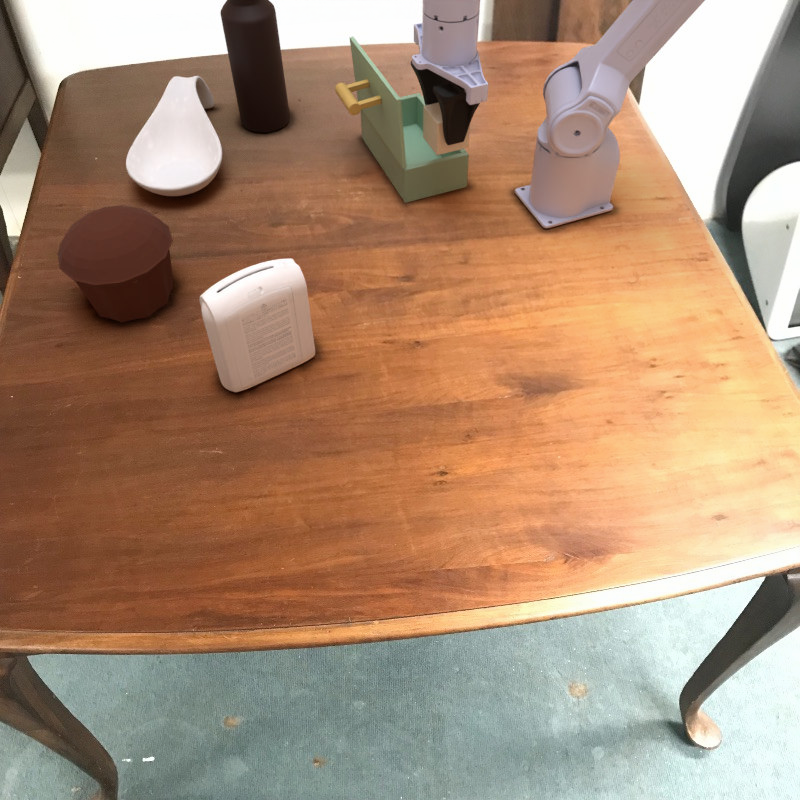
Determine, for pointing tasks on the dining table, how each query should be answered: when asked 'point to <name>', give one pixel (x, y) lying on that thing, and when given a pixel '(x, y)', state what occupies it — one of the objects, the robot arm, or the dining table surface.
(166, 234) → the muffin
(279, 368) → the photo printer
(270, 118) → the bottle
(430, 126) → the block
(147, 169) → the spoon rest
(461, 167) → the compartment
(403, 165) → the compartment door
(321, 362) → the dining table surface
